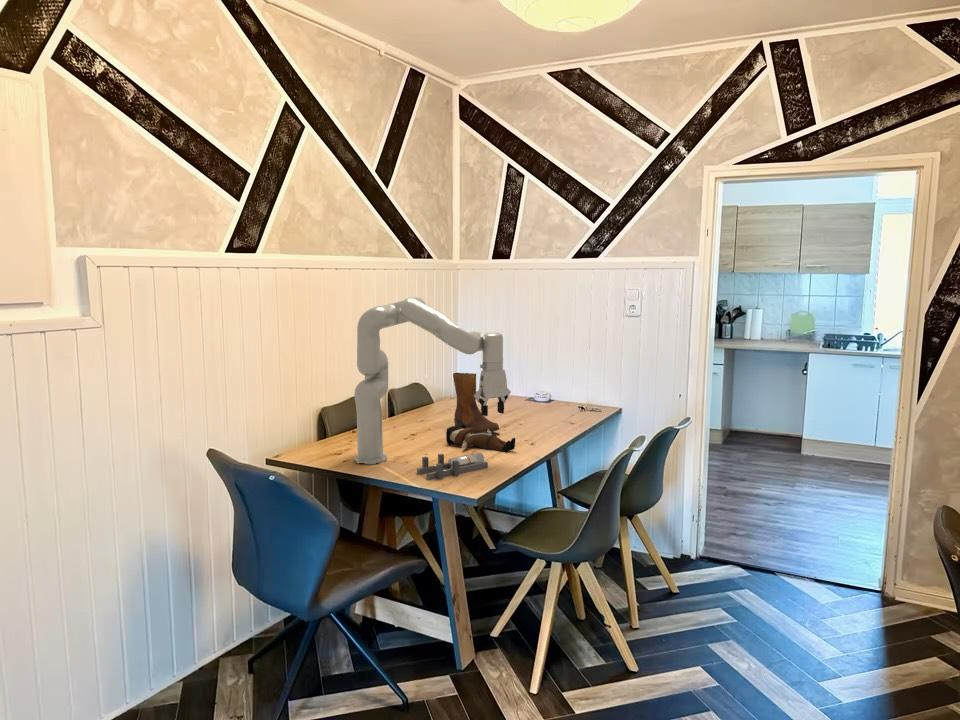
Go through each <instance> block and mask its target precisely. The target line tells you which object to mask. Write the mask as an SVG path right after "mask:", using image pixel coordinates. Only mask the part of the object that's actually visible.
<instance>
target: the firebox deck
mask: <svg viewBox="0 0 960 720" xmlns="http://www.w3.org/2000/svg"><path fill="white" fill-rule="evenodd" d="M421 460H422V461H421V465H422V466H421V467H418V468H416V471H415V472H414V474H416V475H418V476H420V477H422V479H425V480H427V481H429V482H431V483H432V482H436V481H441V480H447V479H450V478H455V477H459V476H460V477H461V476H465V475H470V474H475V473H479V472H484V471H488V470H491V468H489V462H488V461H484V462H481V463H476V464H471V465H466V466H461V467H459V461H457V460H454V461H452V469H449V467H448V462H445V454H443V453H438V454H437V463H436V464H433V465H429V457H428V456H422V458H421Z"/></svg>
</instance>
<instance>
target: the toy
mask: <svg viewBox="0 0 960 720" xmlns="http://www.w3.org/2000/svg"><path fill="white" fill-rule="evenodd" d="M473 430H474V429H473V428H465V429H464V428H460V429H458V428H457V427H456V426H455V425H453V426H449V427H447V428H446V432H445V435H446V436H445V438H446V443H447V444H448V445H454V444H456V445H461V449H467V448H469V447H472V446H475V447H478V448H480V449H482V450H487V451H489V450H491V451H498V452H502V453H505V454H508V453H509V452H510V451H513V450H515V447H516V437H513V438H512V439H511V440H507V441H504V440H502V439H501V438H499V437H498V436H497V435H496V434H495V433H492V432H491V431H489V429H488V430H487V431H485V432H481V433H476V434H474V433H473Z"/></svg>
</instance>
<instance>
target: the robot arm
mask: <svg viewBox="0 0 960 720" xmlns="http://www.w3.org/2000/svg"><path fill="white" fill-rule="evenodd" d="M405 323H412V324H413V325H415V326H417V327H419V328H421V329H423V330H424V331H426V332H428V333H430V334H432V335H433V336H434V337H436V338H437V339H439V340H441V342H442V343H445V344H446V345H448V346H449V347H451V348H453V349H455V350H457V351H458V352H460V353H463V354H465V355H474V354H476V353H477V352H482V364H480V365H479V367H480V369H482V370H481V371H480V376H479V386H478V390H476V394H475V395H474V397H475V398H476V402H478V403H479V405H480V412H481V414H482V415H483V416H484V417H488V416H489V412H488V411H489V406H488V405H487V404H488V401H489V400H490V399H495V398H497V400H498V401H497V413H499V414H504V413H505V403H506V400H508V398H509V395H510V394H511V393H512V391H511V389H509V388H508V381H507V375H506V370H505V369H504V337H503V334H502V333H499V332H479V331H470V332H468V331H466V330H465V329H463V328H461V327H459V326H457V325H456V324H454V323H453V322H452V321H451V320H450V319H449V318H448V316H447V315H446V314H444V313H443V312H441V311H440V310H437V309H436V308H433V307H432V306H430V305H427V303H426V301H424V299H422V298H421V297H417V296H412V297H408V298H405V299H403V300H401V301H396V302H393V303H388V304H382V305H377V306H374V307H372V308H370V309H368V310H366V311H365V312H363V314H361V316H360V317H359V320H358V322H357V327H356V328H357V329H356V332H357V335H356V337H357V339H356V341H357V345H356V367H357V370H358V372H359V373H360V374H361V375H363V376H364V379H363V380H361V381H360V382H359V383H358V384H357V385H356V387H355V389H354V392H353V393H354V401H355V402H354V403H355V407H356V408H355V409H356V427H357V428H356V431H357V455H355V456H354V458H353V461H354V460H355V461H356V462H359V463H365V464H364V465H377V464H376V463H378V464H382V463H384V462H386V461H387V460H388V456H387V455H386V454H385V453H384V439H383V438H384V437H383V411H382V410H383V409H382V405H381V399H382V398H384V397H385V396H386V394H387V393H388V391H389V361H388V360H389V359H388V355H387V354H386V353H385V351H384V350H382V349H381V337H380V331H381V330H382V329H386V328H390V327H393V326H398V325H401V324H405ZM355 461H354V462H355ZM356 462H355V463H356ZM381 462H382V463H381ZM359 463H358V464H359Z"/></svg>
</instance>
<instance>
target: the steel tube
mask: <svg viewBox="0 0 960 720" xmlns="http://www.w3.org/2000/svg"><path fill="white" fill-rule="evenodd" d="M454 460H457V461H459V467H461V466H466V465H471V464H476V463H481V462H485V456H484V454H483V453H481V452H478V453H477V452H476V453H472V454H465V455H462V456H455V457H452V458H448V459H447V463H448V467H449V469H452V461H454Z"/></svg>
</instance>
